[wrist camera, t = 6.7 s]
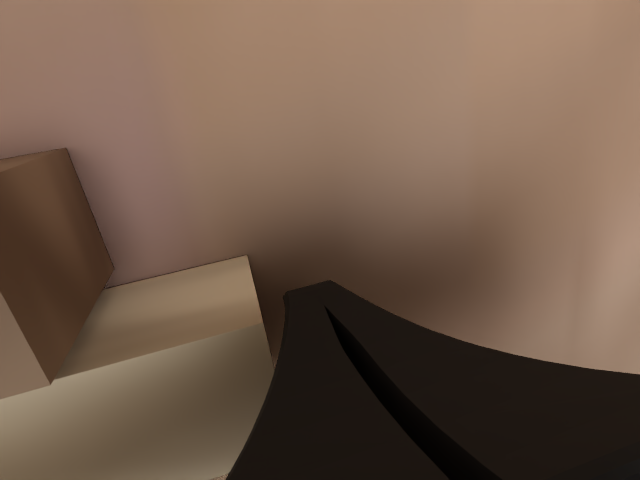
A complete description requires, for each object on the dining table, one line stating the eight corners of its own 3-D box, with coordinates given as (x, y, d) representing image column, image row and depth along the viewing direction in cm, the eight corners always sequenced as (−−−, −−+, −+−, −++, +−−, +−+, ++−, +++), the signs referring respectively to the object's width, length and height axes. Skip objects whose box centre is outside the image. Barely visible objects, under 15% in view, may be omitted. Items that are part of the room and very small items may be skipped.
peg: (271, 357, 11) (294, 450, 8) (-98, 465, 9) (-235, 631, 6) (247, 255, 10) (262, 322, 7) (-183, 358, 8) (-401, 505, 5)
